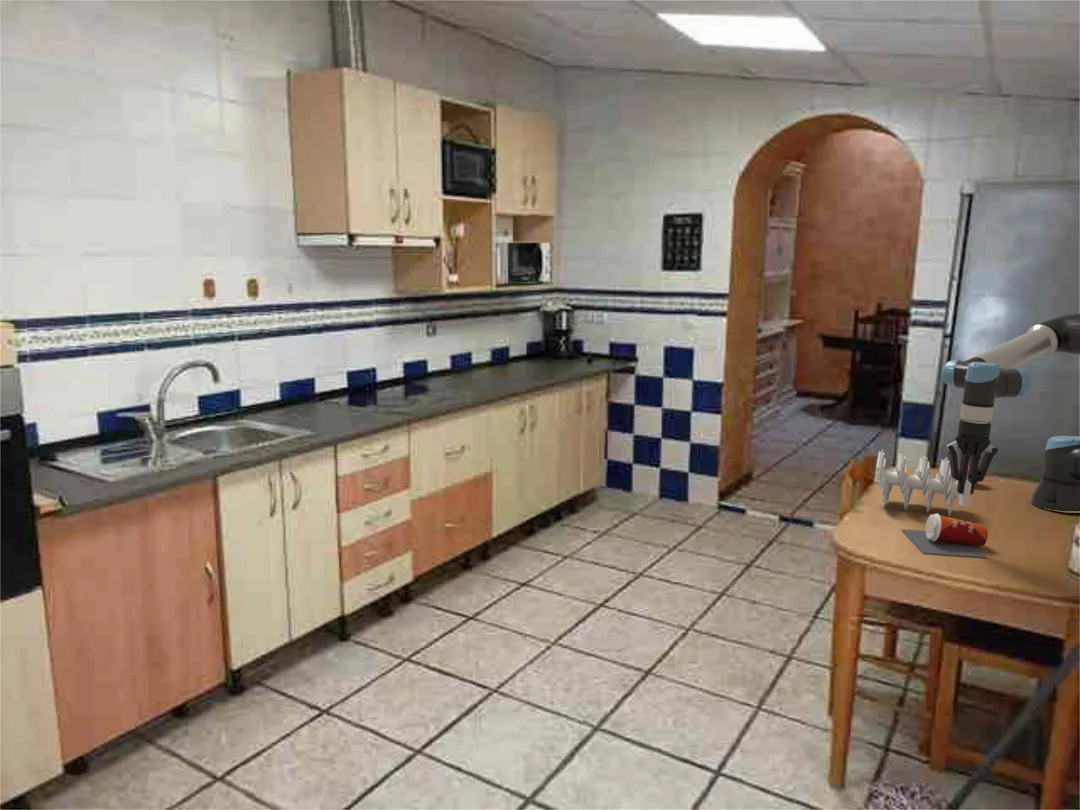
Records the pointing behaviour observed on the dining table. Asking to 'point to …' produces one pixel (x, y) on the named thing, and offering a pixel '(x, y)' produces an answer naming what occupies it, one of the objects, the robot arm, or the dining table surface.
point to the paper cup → (955, 531)
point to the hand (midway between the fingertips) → (963, 504)
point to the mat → (941, 546)
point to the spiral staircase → (916, 480)
